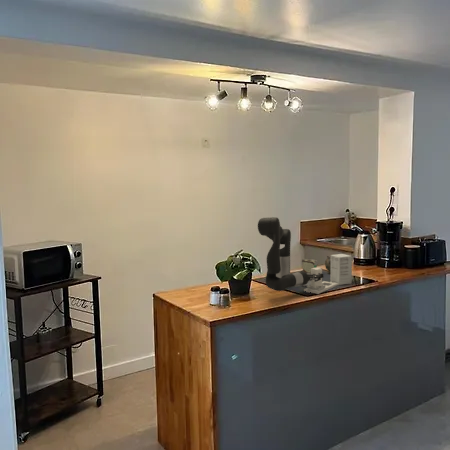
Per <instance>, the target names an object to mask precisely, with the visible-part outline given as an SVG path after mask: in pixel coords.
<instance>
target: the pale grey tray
mask: <svg viewBox="0 0 450 450" xmlns="http://www.w3.org/2000/svg"><path fill="white" fill-rule="evenodd" d="M337 286H339V285H338V283H334V282H333V281H332V282H330V281H325V280H322V286H320V287H314V286H311V285H309V286H307V287H305V288H304V289H303V292H305V291H306V293H310V292H311V293H310V294H316V295H319V294H321V293H324V292H326V291H327V290H331V289H332V288H335V287H337Z"/></svg>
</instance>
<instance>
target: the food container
mask: <svg viewBox="0 0 450 450" xmlns="http://www.w3.org/2000/svg"><path fill="white" fill-rule="evenodd" d="M301 264H302V271H304V272H309V273H311V268H318V267H317V266H318V265H319V263H318V260H317V259H311V258H302V259H301Z"/></svg>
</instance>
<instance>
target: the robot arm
mask: <svg viewBox="0 0 450 450" xmlns="http://www.w3.org/2000/svg"><path fill="white" fill-rule="evenodd" d="M257 231H258V232H259V235H261V236H265V237H266V238H269V239H270V240H271V241H272V242H273V243H272V245H271V247H270V248H269V251H268V253H267V255H266V268H267V271H266V275H265V284H266V287H267V288H269V289H271V290H274V291H276V292H282V291H284V290H286V289H288V288H293V287H302V285H305V284H307V283H308V281H313V280H315V282H316V281H319V280H321V278H322V279H324V273H322V274H318V275H316V274H311V273H309V272H304V271H303V270H302V271H297V272H292V273H291V239H292V233H291V230H290V229H288V228H283V227H282V226H281V223H280V219H279V217H273V216H272V217H262V218H259V220H258V221H257ZM281 245H284V246H283V247H282V248H281ZM313 275H314V278H313Z"/></svg>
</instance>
